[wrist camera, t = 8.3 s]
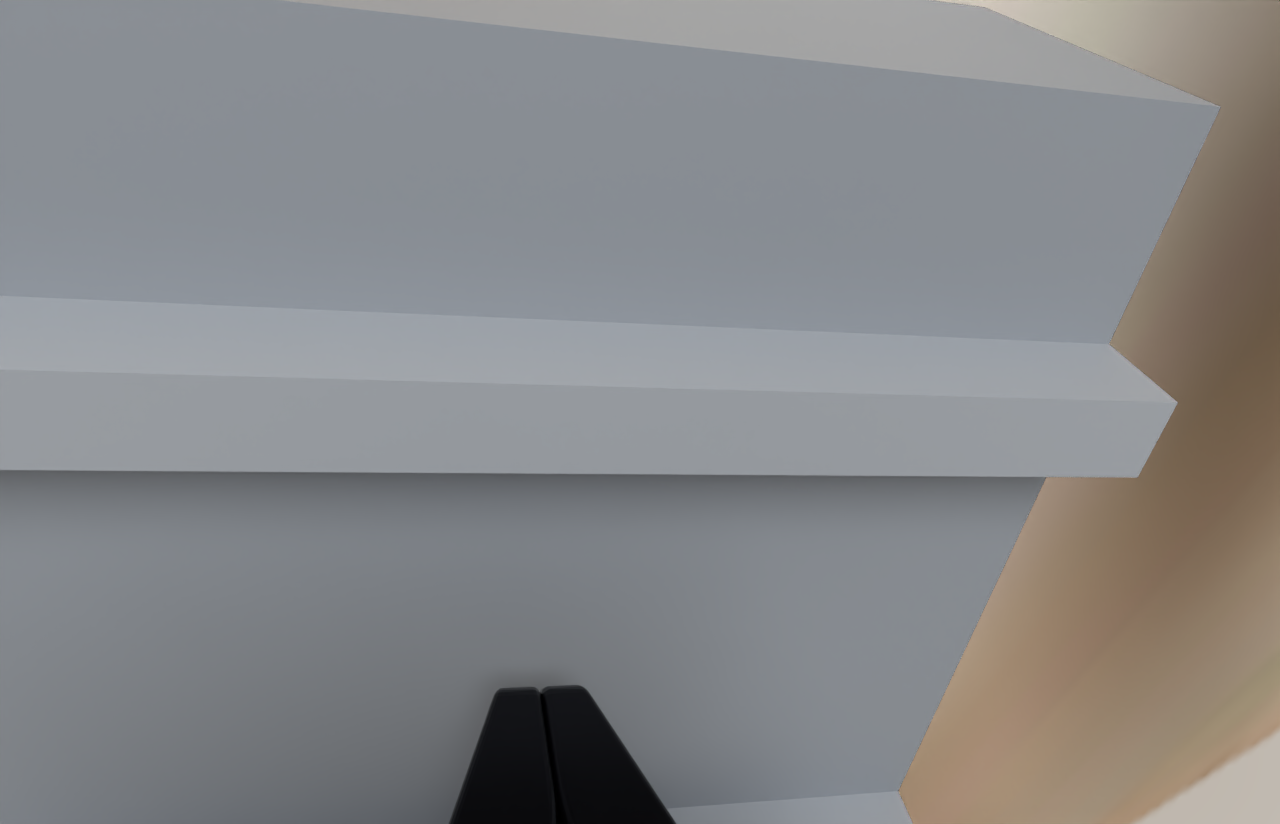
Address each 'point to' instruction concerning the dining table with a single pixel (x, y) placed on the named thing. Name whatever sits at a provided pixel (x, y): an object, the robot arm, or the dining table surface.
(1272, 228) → the dining table surface
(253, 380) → the bench board
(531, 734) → the robot arm
